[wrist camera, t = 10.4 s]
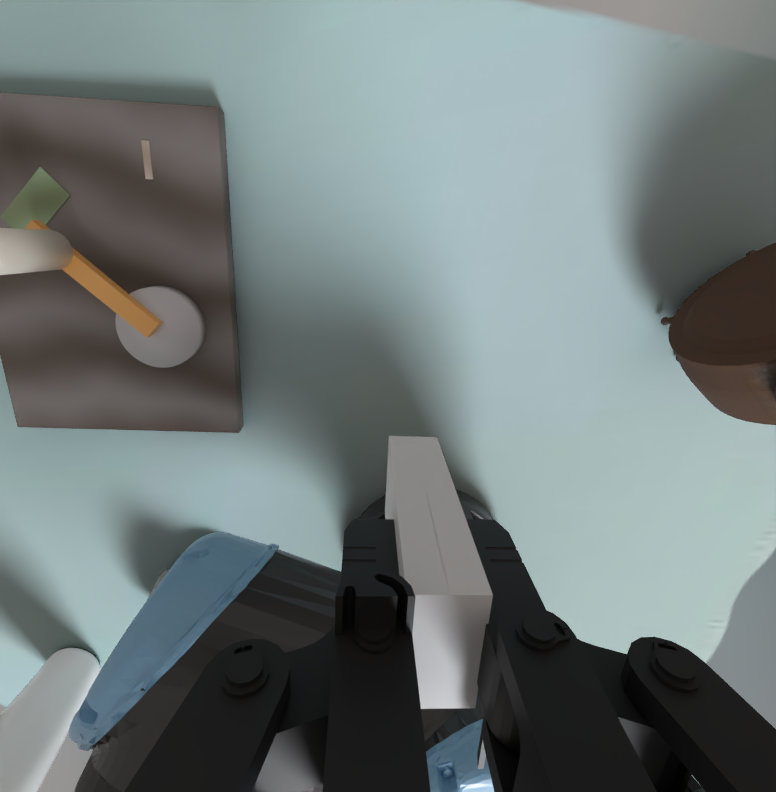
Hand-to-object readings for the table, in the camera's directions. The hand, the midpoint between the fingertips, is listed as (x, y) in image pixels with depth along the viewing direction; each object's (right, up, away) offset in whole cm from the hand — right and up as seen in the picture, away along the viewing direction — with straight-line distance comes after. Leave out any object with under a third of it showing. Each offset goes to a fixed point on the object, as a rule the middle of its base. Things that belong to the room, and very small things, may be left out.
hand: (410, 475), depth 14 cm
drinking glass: (-34, -26, +34) cm, 54 cm away
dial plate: (-22, +11, +21) cm, 32 cm away
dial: (-20, +10, +20) cm, 30 cm away
